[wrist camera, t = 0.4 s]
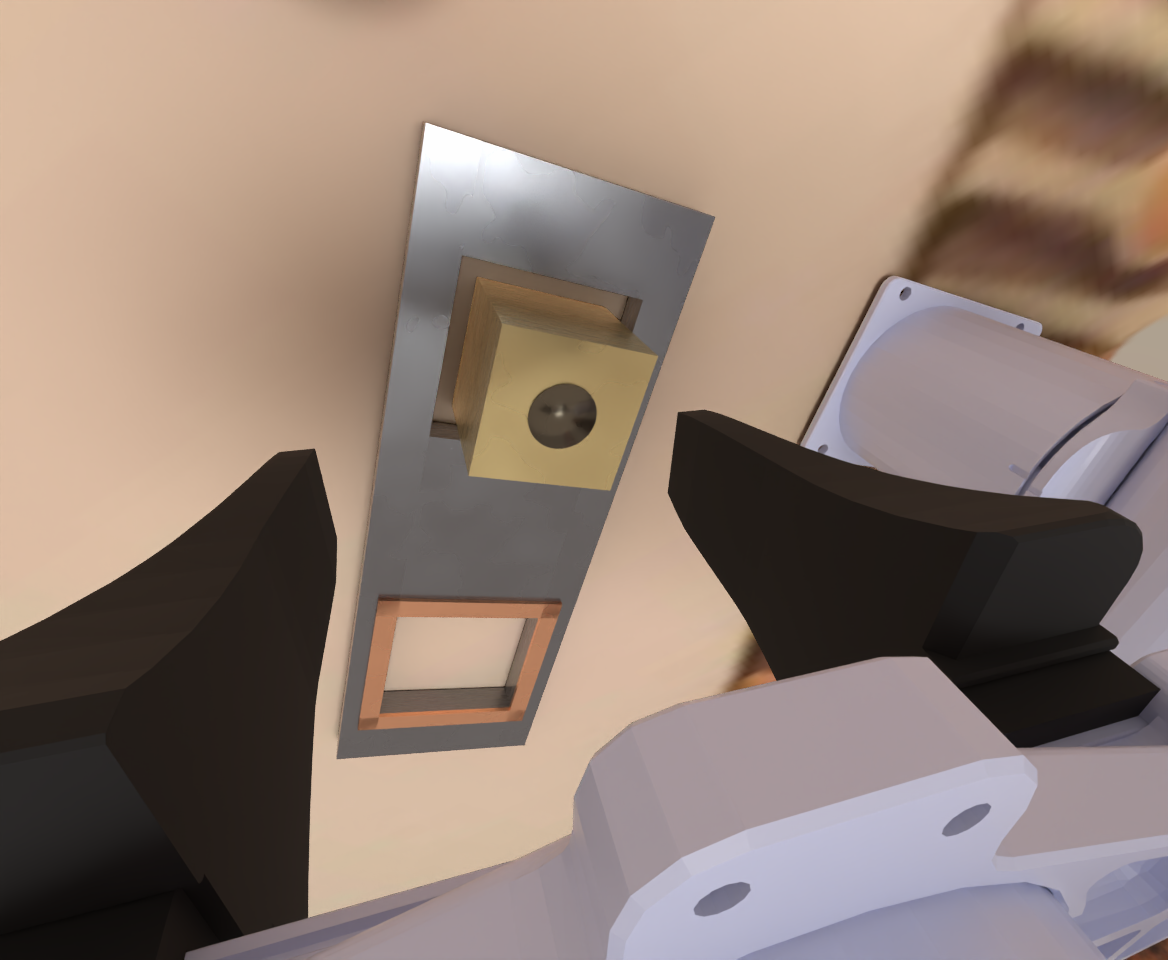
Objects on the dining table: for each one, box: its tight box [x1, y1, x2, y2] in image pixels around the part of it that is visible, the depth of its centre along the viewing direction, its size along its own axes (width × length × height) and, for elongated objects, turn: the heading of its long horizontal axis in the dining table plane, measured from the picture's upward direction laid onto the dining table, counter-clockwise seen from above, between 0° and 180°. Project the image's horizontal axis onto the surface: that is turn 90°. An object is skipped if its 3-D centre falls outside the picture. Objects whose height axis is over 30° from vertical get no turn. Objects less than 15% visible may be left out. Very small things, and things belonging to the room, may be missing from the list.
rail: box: [336, 122, 715, 759], centre depth 23 cm, size 9×26×1 cm, turn 163°
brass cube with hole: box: [452, 277, 658, 491], centre depth 19 cm, size 4×4×5 cm
